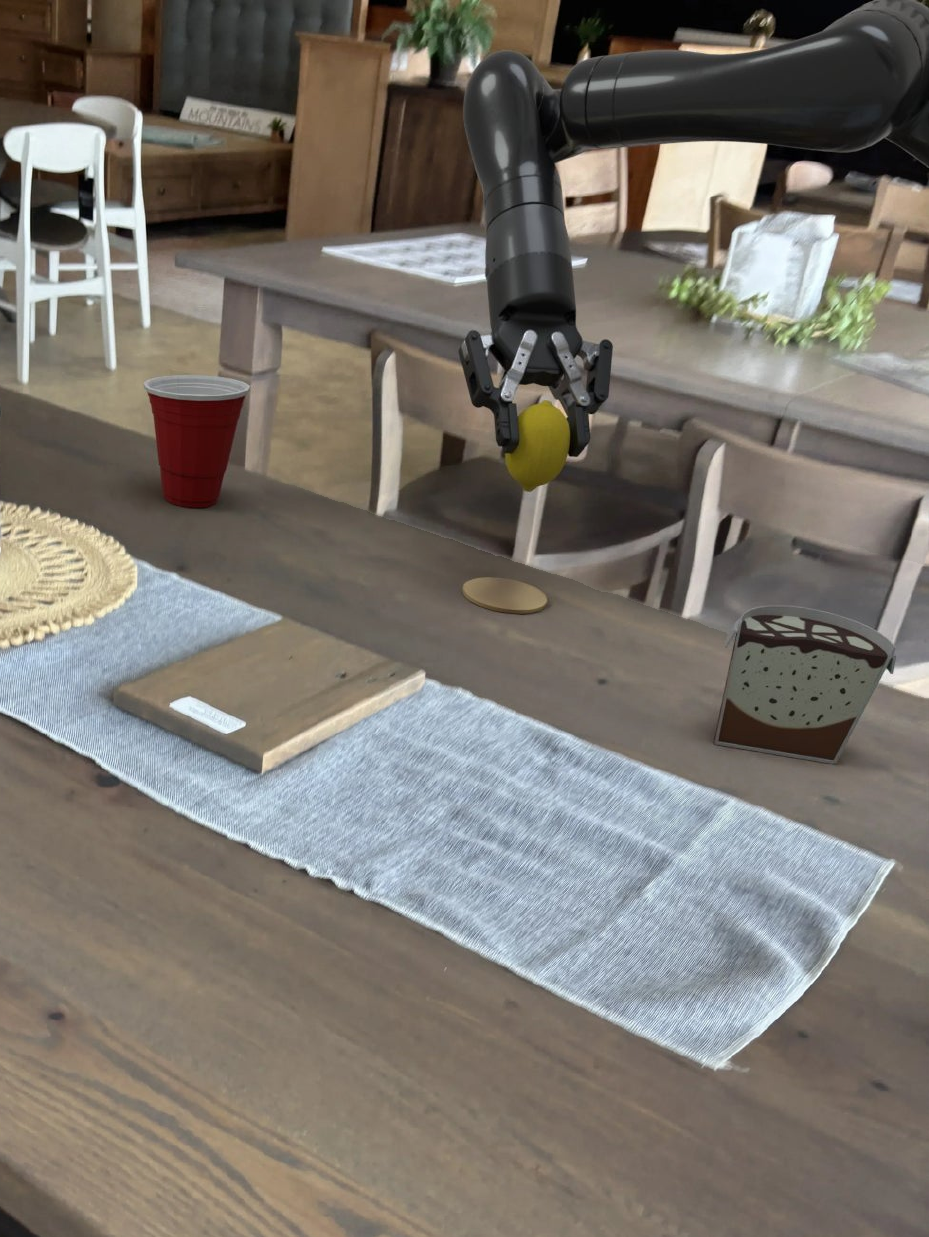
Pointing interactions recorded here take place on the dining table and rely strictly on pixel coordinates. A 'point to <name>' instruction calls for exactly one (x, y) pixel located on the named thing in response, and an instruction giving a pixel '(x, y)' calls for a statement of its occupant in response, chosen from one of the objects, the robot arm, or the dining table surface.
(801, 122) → the robot arm
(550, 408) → the lemon
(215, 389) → the plastic cup
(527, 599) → the coaster
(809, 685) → the food container
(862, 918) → the dining table surface
